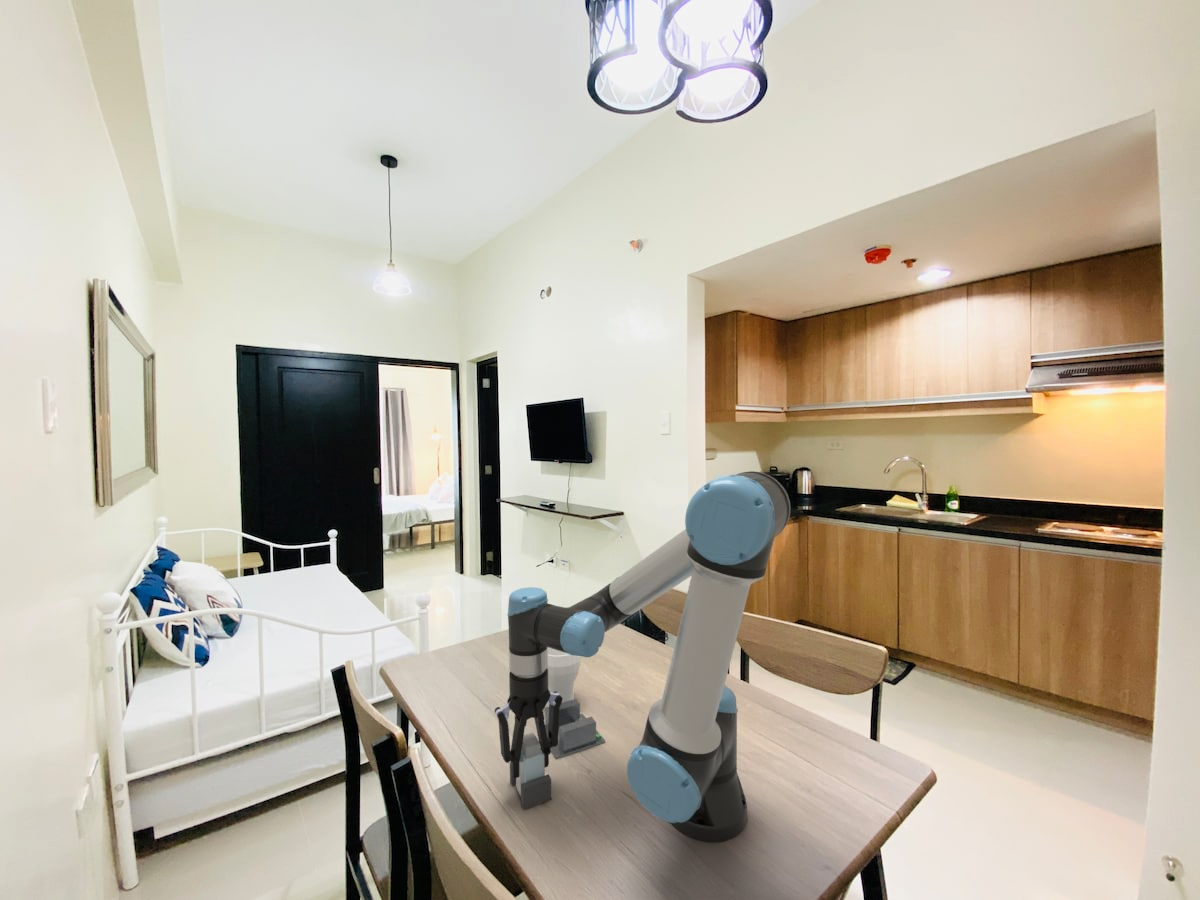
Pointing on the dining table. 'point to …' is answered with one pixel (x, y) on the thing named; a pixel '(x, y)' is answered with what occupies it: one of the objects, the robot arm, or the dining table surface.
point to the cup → (562, 673)
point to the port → (573, 730)
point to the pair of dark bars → (534, 790)
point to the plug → (531, 757)
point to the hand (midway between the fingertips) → (530, 786)
